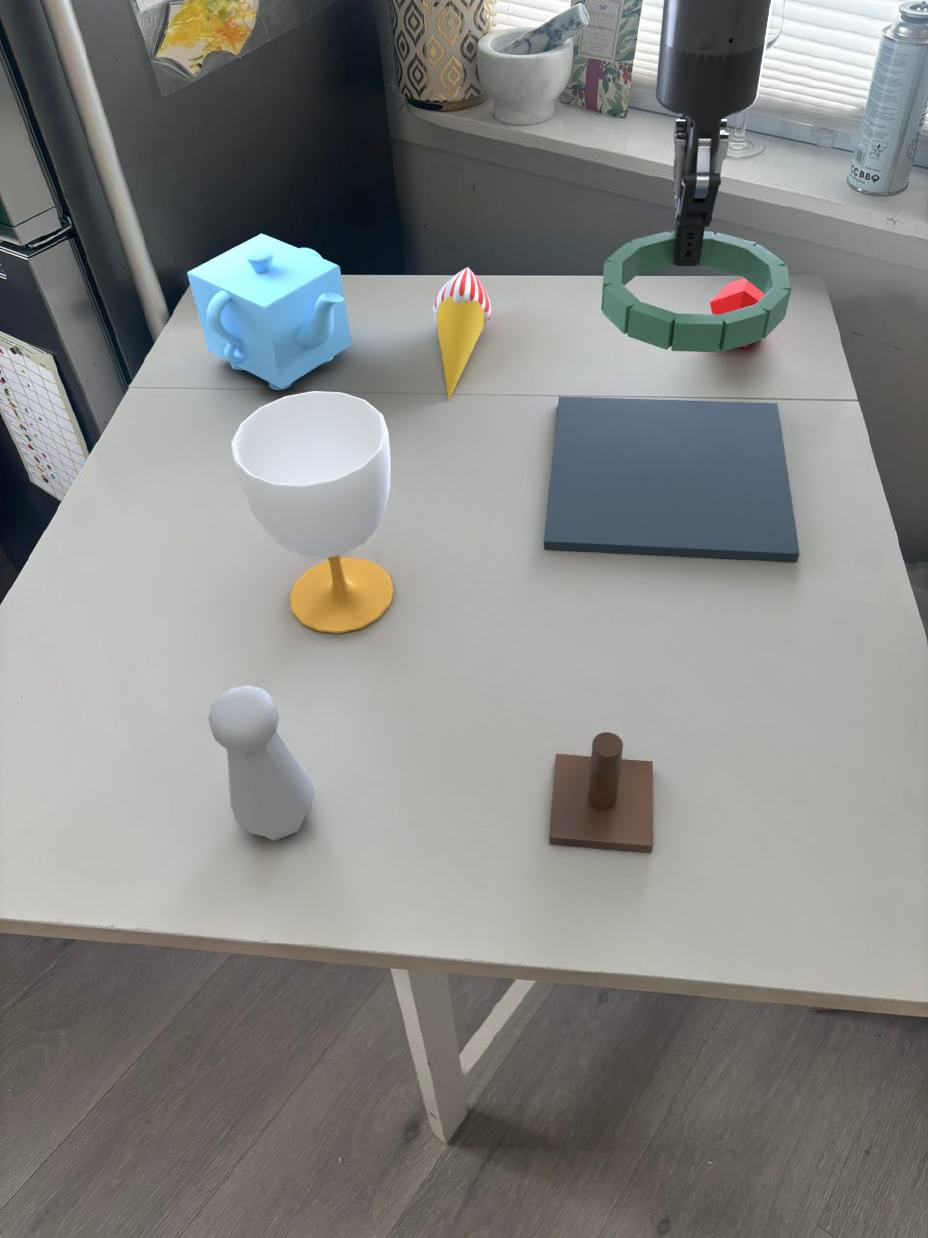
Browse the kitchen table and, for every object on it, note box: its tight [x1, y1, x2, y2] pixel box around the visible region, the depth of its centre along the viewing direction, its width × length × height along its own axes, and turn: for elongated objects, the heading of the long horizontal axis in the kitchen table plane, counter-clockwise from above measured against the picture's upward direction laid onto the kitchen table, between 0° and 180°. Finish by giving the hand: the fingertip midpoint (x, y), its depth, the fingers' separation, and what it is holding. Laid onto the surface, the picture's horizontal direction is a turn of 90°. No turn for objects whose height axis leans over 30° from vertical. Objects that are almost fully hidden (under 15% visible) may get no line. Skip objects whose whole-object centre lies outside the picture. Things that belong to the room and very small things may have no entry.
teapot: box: [186, 233, 352, 391], centre depth 105 cm, size 18×16×13 cm
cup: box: [230, 390, 395, 634], centre depth 80 cm, size 12×12×17 cm
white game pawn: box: [208, 685, 315, 842], centre depth 67 cm, size 6×6×13 cm
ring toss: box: [548, 731, 654, 854], centre depth 68 cm, size 7×7×8 cm
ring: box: [600, 230, 792, 353], centre depth 79 cm, size 14×14×2 cm
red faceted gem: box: [709, 277, 764, 349], centre depth 108 cm, size 7×7×8 cm
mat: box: [543, 395, 800, 563], centre depth 94 cm, size 22×22×1 cm
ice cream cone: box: [432, 266, 492, 401], centre depth 110 cm, size 6×6×20 cm
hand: (685, 257), depth 84 cm, fingers closed on ring, 1 cm apart
